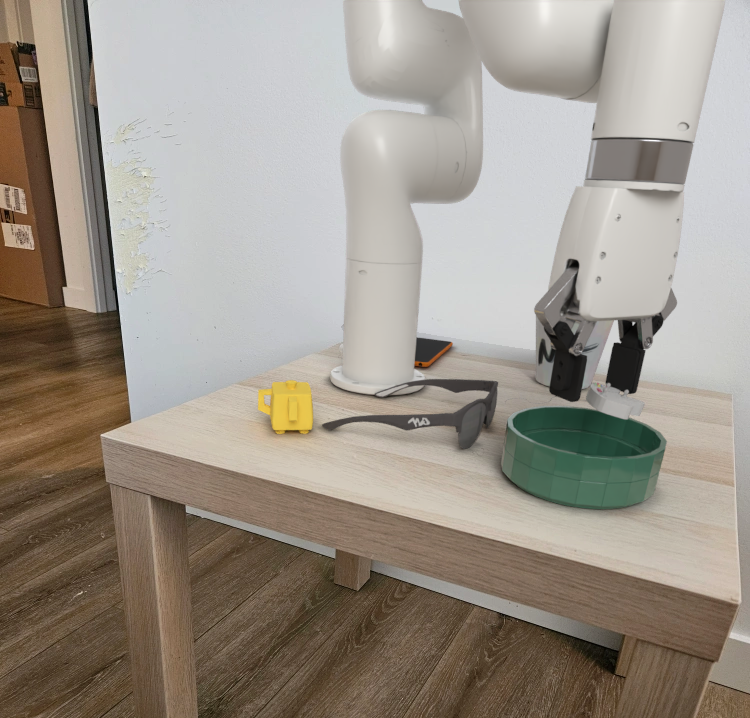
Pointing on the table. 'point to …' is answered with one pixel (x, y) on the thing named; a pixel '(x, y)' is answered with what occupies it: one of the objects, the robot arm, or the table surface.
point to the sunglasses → (463, 419)
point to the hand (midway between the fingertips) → (592, 391)
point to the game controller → (611, 401)
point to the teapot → (288, 406)
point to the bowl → (582, 456)
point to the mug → (591, 351)
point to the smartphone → (429, 350)
